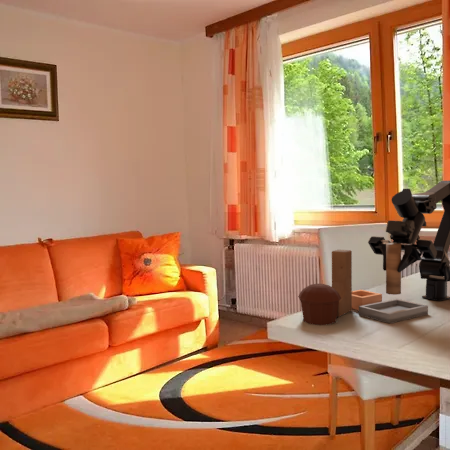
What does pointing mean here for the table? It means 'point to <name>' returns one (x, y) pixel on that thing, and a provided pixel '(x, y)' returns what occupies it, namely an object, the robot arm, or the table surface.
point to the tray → (393, 310)
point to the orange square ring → (364, 298)
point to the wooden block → (342, 279)
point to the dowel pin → (393, 268)
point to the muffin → (319, 304)
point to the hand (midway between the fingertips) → (391, 270)
